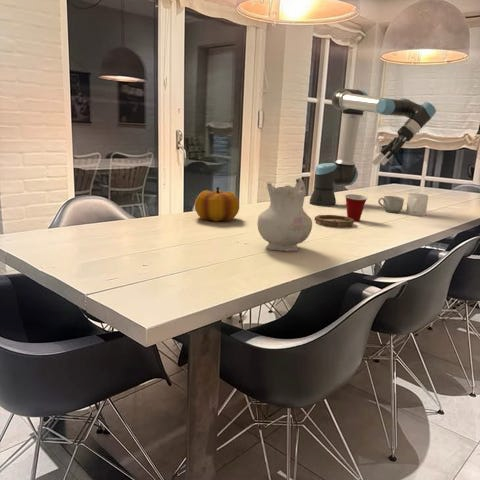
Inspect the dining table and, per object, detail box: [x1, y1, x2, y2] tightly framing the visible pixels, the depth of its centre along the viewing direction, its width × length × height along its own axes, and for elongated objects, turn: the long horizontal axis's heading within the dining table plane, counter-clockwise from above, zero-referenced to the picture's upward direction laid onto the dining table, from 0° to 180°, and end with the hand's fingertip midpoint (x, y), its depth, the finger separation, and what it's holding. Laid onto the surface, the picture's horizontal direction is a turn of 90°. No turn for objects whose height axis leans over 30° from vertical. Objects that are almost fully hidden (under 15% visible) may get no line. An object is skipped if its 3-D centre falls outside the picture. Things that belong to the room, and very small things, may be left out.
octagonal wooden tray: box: [314, 214, 355, 229], centre depth 222 cm, size 17×17×4 cm
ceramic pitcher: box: [256, 177, 313, 253], centre depth 172 cm, size 22×20×25 cm
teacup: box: [377, 195, 405, 214], centre depth 264 cm, size 14×11×8 cm
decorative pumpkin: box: [194, 186, 240, 223], centre depth 218 cm, size 20×22×15 cm
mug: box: [405, 192, 429, 217], centre depth 258 cm, size 14×10×11 cm
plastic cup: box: [344, 193, 368, 222], centre depth 232 cm, size 11×11×12 cm
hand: (377, 163), depth 233 cm, fingers open, 13 cm apart
